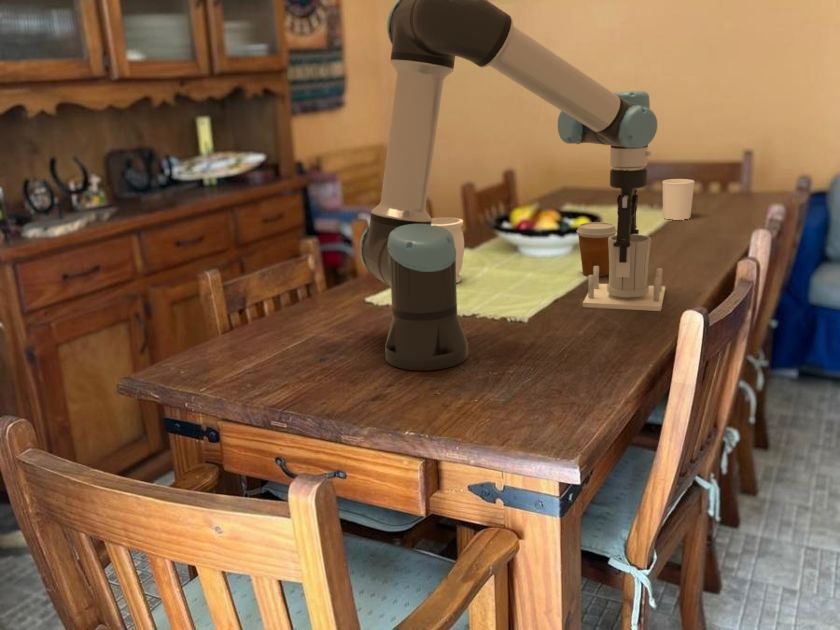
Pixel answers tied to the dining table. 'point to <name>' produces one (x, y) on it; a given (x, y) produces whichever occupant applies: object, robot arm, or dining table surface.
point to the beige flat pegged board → (603, 299)
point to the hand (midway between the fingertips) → (625, 270)
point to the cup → (638, 268)
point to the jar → (455, 229)
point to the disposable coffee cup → (595, 246)
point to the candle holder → (677, 198)
